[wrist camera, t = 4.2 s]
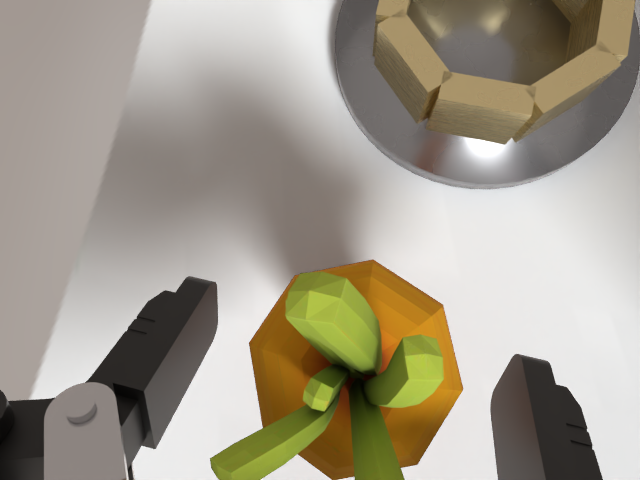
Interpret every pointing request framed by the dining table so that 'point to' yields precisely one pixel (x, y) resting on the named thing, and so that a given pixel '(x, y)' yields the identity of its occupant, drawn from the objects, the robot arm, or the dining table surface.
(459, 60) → the hub socket
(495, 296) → the dining table surface
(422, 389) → the carrot
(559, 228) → the dining table surface
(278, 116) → the dining table surface
